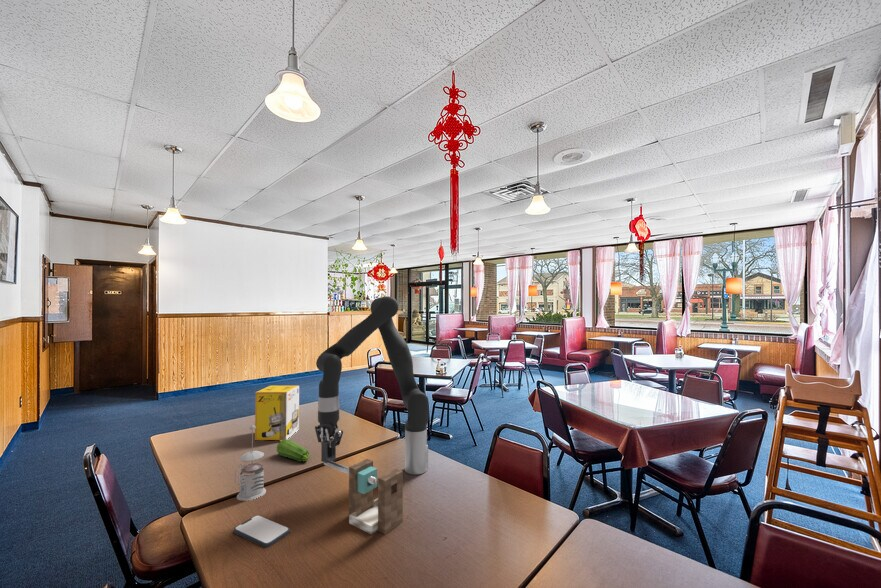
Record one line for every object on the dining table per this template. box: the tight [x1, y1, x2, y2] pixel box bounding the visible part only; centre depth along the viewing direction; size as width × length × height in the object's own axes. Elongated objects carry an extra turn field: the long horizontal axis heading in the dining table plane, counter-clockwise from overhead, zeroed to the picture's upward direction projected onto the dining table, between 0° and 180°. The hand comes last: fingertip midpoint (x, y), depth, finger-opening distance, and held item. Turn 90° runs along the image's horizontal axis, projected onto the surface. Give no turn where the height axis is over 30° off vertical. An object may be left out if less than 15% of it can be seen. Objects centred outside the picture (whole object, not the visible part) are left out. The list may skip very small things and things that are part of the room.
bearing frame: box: [348, 458, 404, 536], centre depth 118 cm, size 16×13×16 cm
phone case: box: [233, 514, 291, 548], centre depth 111 cm, size 9×2×16 cm
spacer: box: [358, 466, 378, 494], centre depth 120 cm, size 3×6×6 cm, turn 144°
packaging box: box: [254, 385, 300, 441], centre depth 195 cm, size 16×16×25 cm
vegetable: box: [276, 439, 310, 462], centre depth 166 cm, size 7×7×20 cm
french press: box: [234, 424, 267, 502], centre depth 134 cm, size 10×12×25 cm
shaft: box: [320, 440, 378, 485], centre depth 126 cm, size 26×4×9 cm, turn 54°
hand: (328, 455), depth 132 cm, fingers closed on shaft, 3 cm apart
